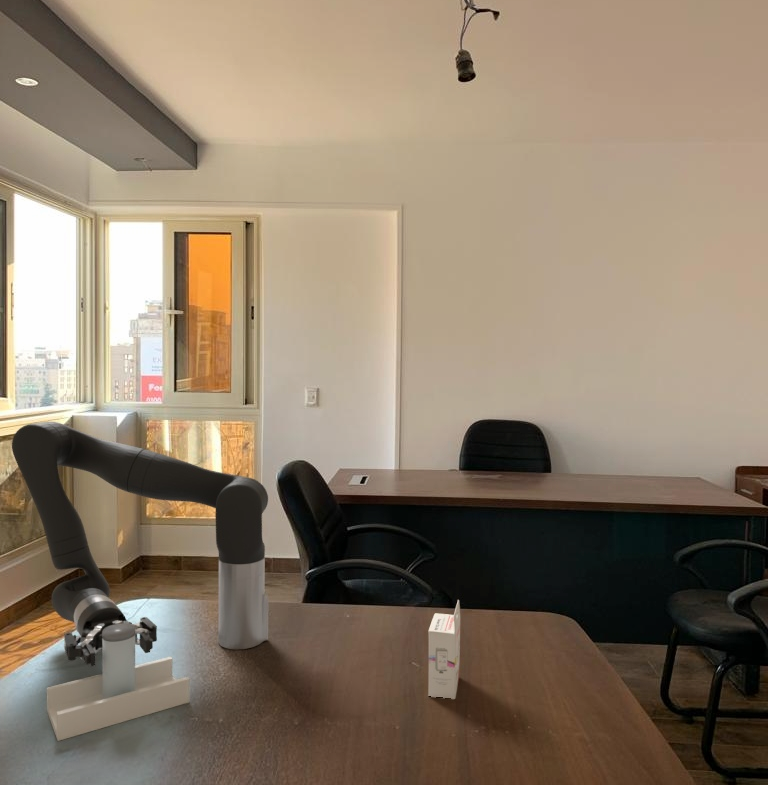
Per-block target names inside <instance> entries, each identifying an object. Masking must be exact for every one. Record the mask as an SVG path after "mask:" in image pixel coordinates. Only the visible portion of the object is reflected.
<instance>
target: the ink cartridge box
mask: <svg viewBox="0 0 768 785" xmlns="http://www.w3.org/2000/svg"><path fill="white" fill-rule="evenodd" d="M427 632H428V633H427V634H428V692H427V693H428V694H427V697H428V696H431V697H430V698H436V697H443V698H442V699H445V698H451V699H450V700H456V698H457V692H458V684H459V678H460V656H461V655H460V651H461V650H460V649H461V648H460V647H461V644H460V643H461V606H460V600H459V599H457V603H456V606H455V610H454V614H446V613H437V612H436V613H434V614H433V617H432V619H431V623H430V626H429V628H428V631H427Z"/></svg>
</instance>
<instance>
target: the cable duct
mask: <svg viewBox="0 0 768 785" xmlns="http://www.w3.org/2000/svg"><path fill="white" fill-rule="evenodd" d="M189 703H190V678H189V676H184V677H181V678H177V679H176V678H175V677H174V675H173V658H172V656H167V657H162V658H160V659H155V660H151V661H148V662H144V663H143V662H142V663H140V664H135V691H132V692H128V693H125V694H121V695H117V696H114V697H110V698H106V699H103V673H100V674H97V675H90V676H88V677H84V678H79V679H76V680H72V681H68V682H64V683H59V684H55V685H52V686H48V687H46V713H47V715H48V718H49V720H50V723H51V726H52V729H53V732H54V734H55V737H56V740H57V742H58V741H59V742H60V741H62V740H66V739H69V738H73V737H77V736H79V735H83V734H86V733H89V732H93V731H96V730H100V729H104V728H107V727H110V726H115V725H117V724H120V723H124V722H128V721H131V720H133V719H137V718H140V717H144V716H147V715H151V714H154V713H157V712H162V711H165V710H167V709H170V708H174V707H178V706H181V705H182V706H183V705H185V704H189Z"/></svg>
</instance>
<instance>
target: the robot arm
mask: <svg viewBox="0 0 768 785" xmlns="http://www.w3.org/2000/svg"><path fill="white" fill-rule="evenodd" d="M11 450H12V454H13V457H14V460H15V462H16V464H17V466H18V469H19V471H20V473H21V475H22V477H23V480H24V481H25V484H26V486H27V488H28V489H27V490H29V493H30V495H31V498H32V500H33V503H34V505H35V507H36V510H37V513H38V516H39V519H40V521H41V523H42V527H43V531H44V534H45V537H46V542H47V545H48V550H49V554H50V556H51V557H50V558H51V562H52V564H53V567H54V568H55V569H56V570H59V571H61V570H70V569H82V570H83V572H84V573H85V574H84V575H80V576H78V577H75V578H74V577H73V578H71V579H70V580H66V581H64V582H61V583H59V584H57V586H56V587H55V588H54V589H53V591H52V593H51V603H52V607H53V609H54V611H55V612H56V614H57V615H59V617H61V618H62V619H63V620H66V621H68V622H72V623H74V626H75V630H76V632H77V633H78V634H79V635H76V634H73V633H72V632H66V633H64V636H63V637H64V643H63V644H64V646H63V647H64V652H65V655H66V659H67V661H69V662H70V661H75V660H76V659H77V658H80V660H82V661H83V663H84V664H85V665H89V667H93V666H96V654H97V653H99V652H100V650H101V651H102V631H103V629H104V628H106V627H108V626H111V625H114V624H120V623H128V624H133V625H134V626H135V646H139V647H140V649H141V650H143V652H144V653H145V654H148V653H150V652H151V650H152V649H153V643H155V642H157V640H158V639H157V638H158V637H157V635H158V632H157V630H158V626H157V624H156V623H154V622H153V621H152V620H150V618H148V617H146V616H144V617H140V621H139V622H137V623H133V622H131V621H128V620H127V618H126V617H125V615H124V613H123V612H122V610H121V609H120V608H119V607H118V606H117V604H116V603H115V602H114V601H113V599H110V594H111V590H110V585H109V582H108V581H107V579H106V578H105V576H104V574H103V573H102V571H101V570H100V569H99V567H98V565H97V564H96V561H95V559H94V558H93V555H92V553H91V550H90V547H89V543H88V542H89V541H88V538H87V534H86V531H85V530H86V529H85V527H84V524H83V521H82V519H81V517H80V514H79V513H78V511H77V509H76V508H75V507H74V505H73V503H72V502H71V500H70V499H69V497H68V495H67V493H66V491H65V490H64V488H63V484H62V482H61V479H60V475H59V469H58V468H59V466H60V467H68V468H73V469H77V470H80V471H81V470H82V471H86V472H88V473H91V474H93V475H95V476H97V477H99V478H100V479H102V480H103V481H105V482H107V483H108V484H110V485H112V486H113V487H115V488H117V489H119V490H122V491H124V492H127V493H130V494H134V495H137V496H141V497H144V498H147V499H152V500H159V501H171V502H172V501H173V502H187V503H189V502H190V503H197V504H201V505H205V506H208V507H211V508H214V509H215V513H214V514H215V543H216V547H217V550H218V631H217V636H218V639H217V640H218V644H219V646H221V647H223V648H225V649H229V650H245V649H250V648H254V647H256V646H257V647H258V645H260V644H262V643H263V642H265V641H268V640H269V594H268V593H266V592H265V579H266V578H265V576H266V575H265V561H266V560H265V559H266V558H265V555H266V554H265V552H266V551H265V550H266V546H265V543H264V542H263V513H264V512H265V510H266V509H267V506H268V504H269V495H268V491H267V490H266V488H265V487H264V485H263V484H262V483H261V482H260V481H258V480H256V479H254V478H252V477H248V476H242V475H236V474H232V473H225V472H221V471H220V472H219V471H215V470H210V469H206V468H204V467H200V466H198V465H195V464H193V463H189V462H187V461H184V460H181V459H178V458H175V457H172V456H168V455H166V454H162V453H159V452H156V451H152V450H148V449H146V448H141V447H137V446H133V445H129V444H125V443H120V442H117V441H113V440H112V441H111V440H105V439H102V438H99V437H96V436H92V435H90V434H88V433H85V432H83V431H80V430H79V429H78V430H77V429H76V428H73V427H70V426H68V425H66V424H64V423H61V422H56V421H42V422H34V423H28V424H25V425H23V426H22V427H20V428H18V430H16V431H15V433H14V435H13V437H12V440H11ZM138 635H139V638H138ZM79 644H80V645H79Z"/></svg>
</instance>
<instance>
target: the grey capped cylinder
mask: <svg viewBox="0 0 768 785" xmlns="http://www.w3.org/2000/svg"><path fill="white" fill-rule="evenodd" d="M133 624H134V623H132V624H128V623H120V624H114V625H111V626H108V627H106V628H104V629H103V631H102V650H101V652H102V657H101V658H102V666H101V667H102V674H103V699H106V698H110V697H114V696H117V695H121V694H125V693H128V692H132V691H135V665H136V644H135V626H134V625H133Z"/></svg>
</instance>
